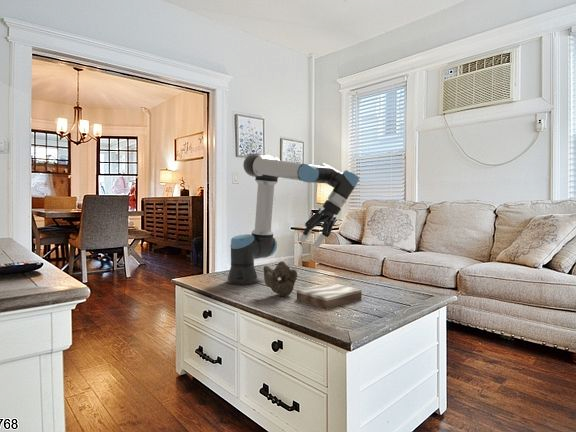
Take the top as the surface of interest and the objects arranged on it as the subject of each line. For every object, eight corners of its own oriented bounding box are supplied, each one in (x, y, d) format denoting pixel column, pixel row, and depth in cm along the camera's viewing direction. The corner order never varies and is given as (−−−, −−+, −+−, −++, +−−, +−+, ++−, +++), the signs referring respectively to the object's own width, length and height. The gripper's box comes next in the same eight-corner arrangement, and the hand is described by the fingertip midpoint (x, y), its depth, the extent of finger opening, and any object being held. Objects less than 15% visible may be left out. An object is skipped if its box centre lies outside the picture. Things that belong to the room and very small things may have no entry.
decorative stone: (271, 300, 150) (271, 264, 149) (257, 294, 159) (257, 260, 158) (301, 294, 159) (302, 260, 159) (287, 289, 168) (287, 257, 168)
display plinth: (296, 299, 151) (296, 289, 151) (331, 291, 165) (331, 282, 165) (326, 308, 139) (326, 298, 138) (361, 299, 152) (361, 289, 152)
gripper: (328, 199, 148) (301, 243, 150) (351, 214, 168) (326, 253, 170) (315, 191, 152) (288, 234, 154) (339, 206, 173) (315, 244, 174)
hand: (308, 244), depth 162 cm, fingers open, 13 cm apart
